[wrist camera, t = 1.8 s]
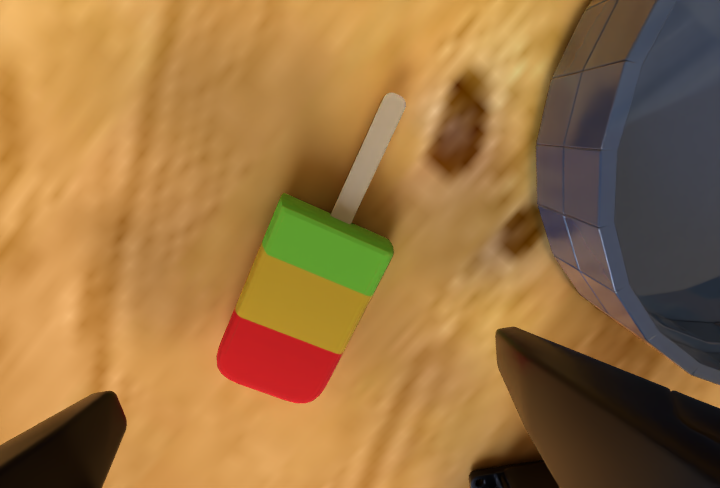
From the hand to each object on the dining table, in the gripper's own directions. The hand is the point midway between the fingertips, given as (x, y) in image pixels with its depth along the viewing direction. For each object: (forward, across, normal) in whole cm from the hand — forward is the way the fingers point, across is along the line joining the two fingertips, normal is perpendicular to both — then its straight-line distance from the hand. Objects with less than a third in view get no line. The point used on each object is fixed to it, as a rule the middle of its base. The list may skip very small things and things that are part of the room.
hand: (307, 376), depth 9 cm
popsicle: (+10, 0, 0) cm, 10 cm away
